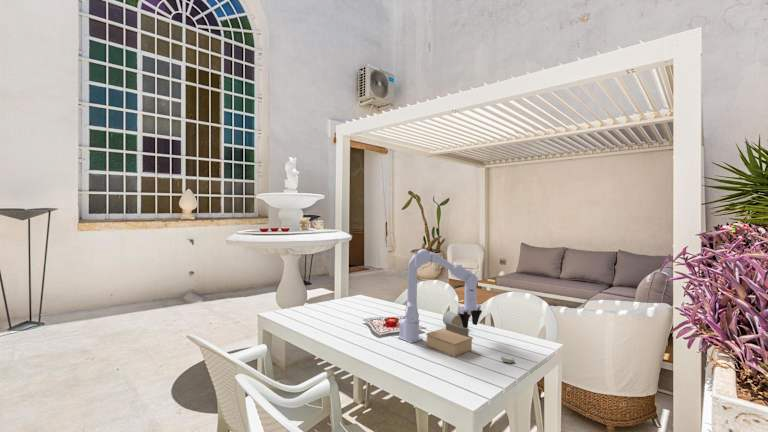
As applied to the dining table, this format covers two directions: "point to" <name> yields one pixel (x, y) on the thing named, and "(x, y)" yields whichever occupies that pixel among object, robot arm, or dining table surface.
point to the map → (507, 360)
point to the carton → (449, 346)
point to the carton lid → (451, 334)
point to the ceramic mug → (452, 318)
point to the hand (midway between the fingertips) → (470, 326)
